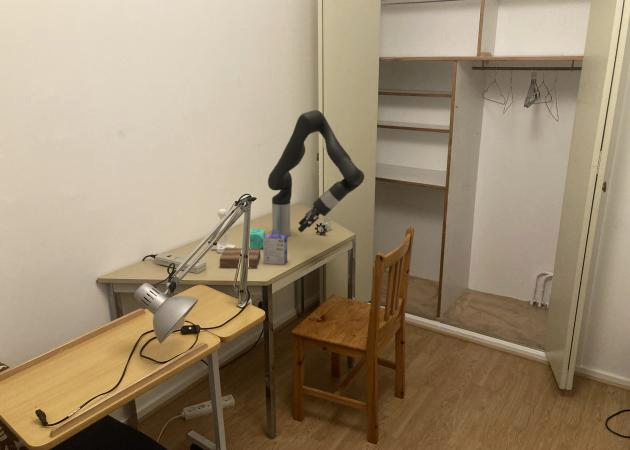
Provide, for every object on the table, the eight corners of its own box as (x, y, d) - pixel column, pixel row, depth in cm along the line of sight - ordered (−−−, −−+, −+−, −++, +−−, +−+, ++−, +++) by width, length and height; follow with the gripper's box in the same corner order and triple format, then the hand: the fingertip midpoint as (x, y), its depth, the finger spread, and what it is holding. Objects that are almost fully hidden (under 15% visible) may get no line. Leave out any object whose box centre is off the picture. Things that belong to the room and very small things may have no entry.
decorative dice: (246, 249, 253) (246, 233, 251) (248, 244, 261) (248, 228, 258) (263, 249, 253) (263, 233, 251) (265, 244, 261) (264, 228, 258)
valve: (322, 228, 287) (314, 234, 276) (323, 216, 285) (314, 222, 274) (334, 229, 284) (326, 236, 274) (334, 217, 282) (326, 223, 272)
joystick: (236, 249, 254) (235, 208, 248) (230, 254, 246) (229, 212, 241) (214, 247, 256) (213, 206, 250) (208, 252, 249) (206, 211, 243)
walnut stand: (225, 256, 244) (225, 248, 243) (260, 256, 244) (260, 248, 243) (219, 267, 231) (219, 259, 229) (257, 268, 231) (256, 259, 229)
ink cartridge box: (288, 261, 239) (287, 230, 235) (284, 265, 234) (284, 234, 230) (266, 259, 241) (266, 228, 237) (263, 263, 236) (262, 232, 232)
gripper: (320, 192, 235) (294, 217, 239) (320, 200, 222) (292, 226, 225) (332, 204, 237) (306, 228, 240) (333, 213, 223) (305, 238, 227)
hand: (299, 227), depth 233 cm, fingers open, 8 cm apart
